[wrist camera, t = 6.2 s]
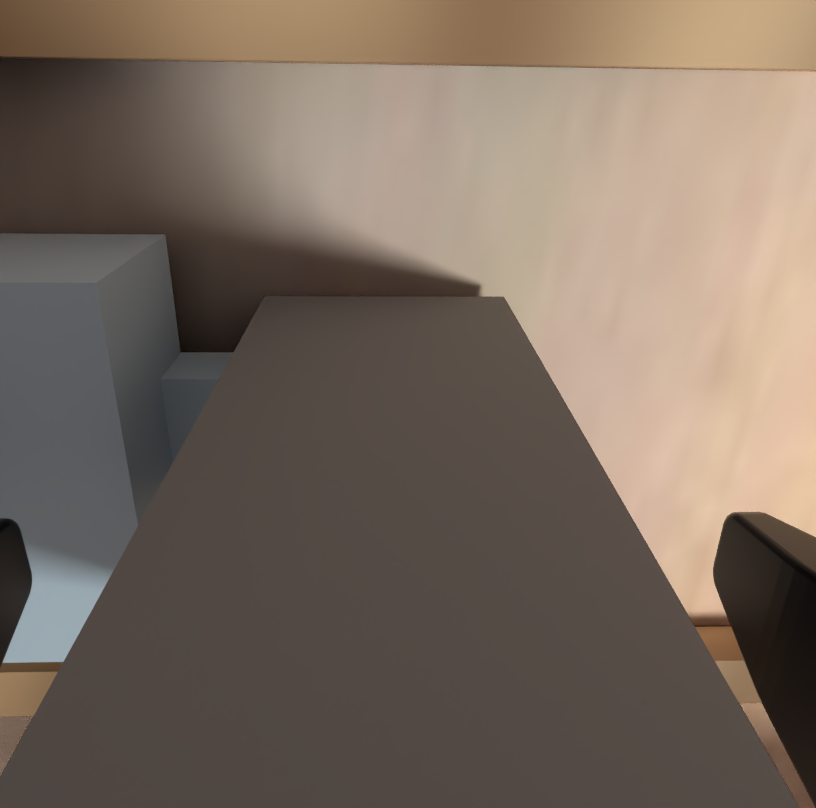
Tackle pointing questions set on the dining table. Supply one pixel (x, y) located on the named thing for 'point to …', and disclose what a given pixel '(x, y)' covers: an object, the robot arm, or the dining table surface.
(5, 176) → the dining table surface
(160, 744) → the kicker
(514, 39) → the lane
